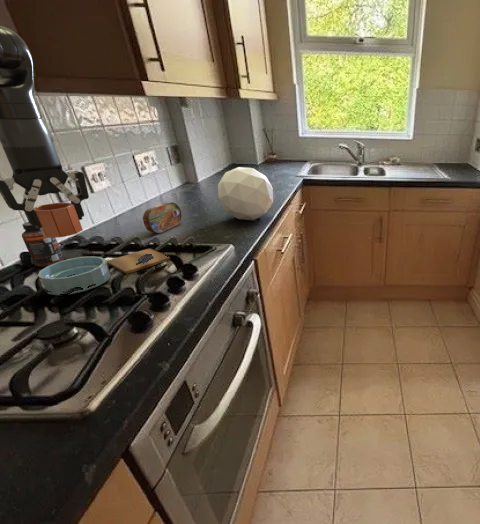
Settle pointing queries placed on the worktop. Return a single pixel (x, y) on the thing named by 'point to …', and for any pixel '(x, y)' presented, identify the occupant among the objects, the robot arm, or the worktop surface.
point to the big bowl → (85, 275)
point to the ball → (245, 193)
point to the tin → (162, 217)
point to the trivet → (129, 261)
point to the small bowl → (58, 220)
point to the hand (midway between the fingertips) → (59, 222)
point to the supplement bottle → (41, 246)
